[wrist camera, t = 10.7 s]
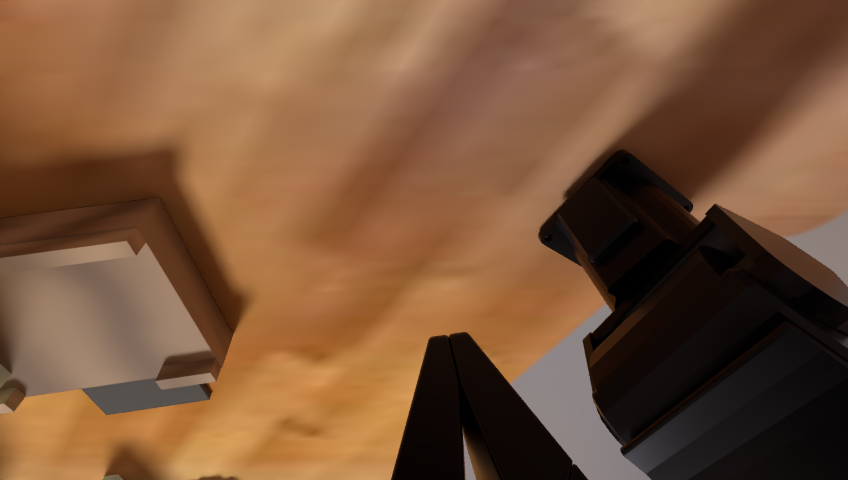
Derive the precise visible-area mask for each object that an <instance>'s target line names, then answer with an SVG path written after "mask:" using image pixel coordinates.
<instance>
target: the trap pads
mask: <svg viewBox="0 0 848 480" xmlns="http://www.w3.org/2000/svg"><path fill="white" fill-rule="evenodd" d="M155 380H156V378H151V379H144V380H137V381H130V382H124V383H117V384H110V385H103V386H96V387H90V388H83V389H82V390H83V391H84V392H85V393H86V394H87V395H88V396H89V397H90V398H91V400H92V401H93V402H94V403H95V404H96V405H97V406H98V407H99V408H100V409H101V410H102V411H103V412H104V413H105V414H106V415H111V414H117V413H124V412H130V411H137V410H144V409H150V408H157V407H164V406H170V405H177V404H184V403H190V402H197V401H204V400H209V399H210V396H211V394H210V392H209V391H208V389H207V388H206V386H205V385H204V384H197V385H191V386H184V387H177V388H170V389H164V390H162V389H161V388H160V387H159V386H158V384H157V383H156V382H155Z"/></svg>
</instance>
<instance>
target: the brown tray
mask: <svg viewBox="0 0 848 480" xmlns="http://www.w3.org/2000/svg"><path fill="white" fill-rule="evenodd" d="M232 337H233V334H232V332H231V330H230V328H229V326H228V325H227V323H226V321H225V319H224V317H223V315H222V313H221V312H220V310H219V308H218V306H217V304H216V302H215V300H214V298H213V297H212V295H211V293H210V291H209V289H208V287H207V285H206V284H205V282H204V280H203V278H202V276H201V274H200V272H199V271H198V269H197V267H196V265H195V263H194V261H193V259H192V258H191V256H190V254H189V252H188V250H187V248H186V246H185V245H184V243H183V241H182V239H181V237H180V235H179V233H178V232H177V230H176V228H175V226H174V224H173V222H172V220H171V218H170V217H169V215H168V213H167V211H166V209H165V207H164V205H163V204H162V202H161V200H160V198H151V199H143V200H136V201H128V202H121V203H113V204H105V205H98V206H90V207H83V208H75V209H67V210H60V211H52V212H45V213H37V214H29V215H22V216H14V217H7V218H0V364H1V365H2V366H3V367H4V368H6V369H7V370H8V371H9V372H10V373H11V374H12V375H11V376H10V377H9V378H8V380H7V381H6V382H5V383H4V385H3V386H2V387H1V388H0V414H3V413H9V412H14V411H15V410H16V408H17V407H18V406H19V404H20V403H21V402H22V400H23V399H24V398H25V397H29V396H36V395H42V394H49V393H56V392H63V391H69V390H76V389H83V388H90V387H96V386H103V385H110V384H117V383H124V382H130V381H137V380H144V379H151V378H156V380H155V382H156V383H157V384H158V386H159V387H160V388H161V389H162V390H164V389H170V388H177V387H184V386H191V385H197V384H204V383H211V382H216V381H217V378H218V375H219V372H220V369H221V368H222V366H223V363H224V360H225V357H226V354H227V352H228V349H229V346H230V343H231V340H232Z"/></svg>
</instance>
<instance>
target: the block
mask: <svg viewBox="0 0 848 480" xmlns="http://www.w3.org/2000/svg"><path fill="white" fill-rule="evenodd" d="M11 375H12V374H11V373H10V372H9V371H8V370H7V369H6V368H4V367H3V366H2V365H1V364H0V388H1V387H2V386H3V385H4V383H5V382H6V381H7V380H8V378H9V377H10V376H11Z"/></svg>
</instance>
